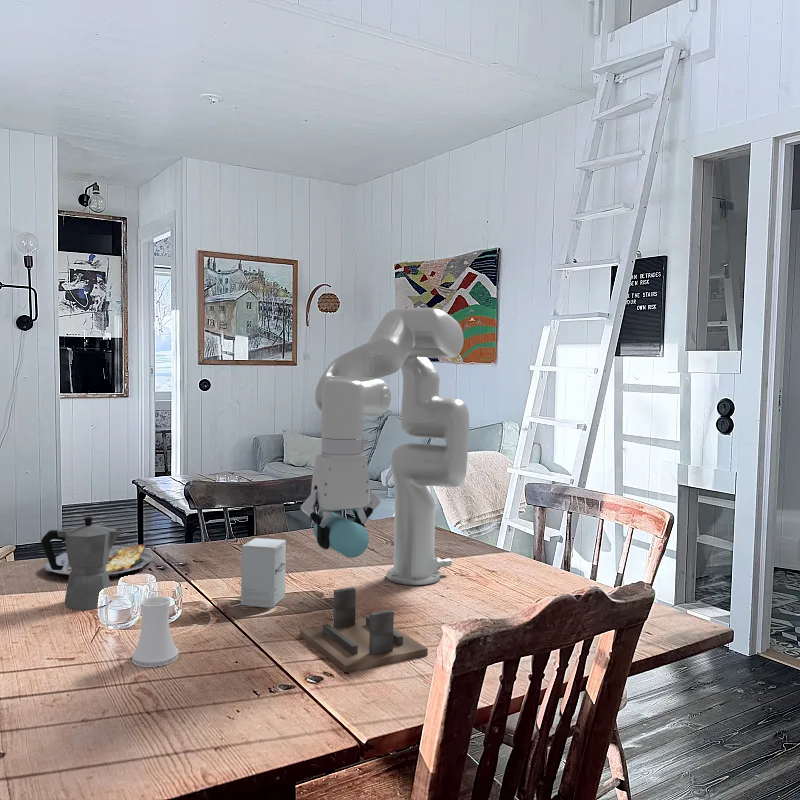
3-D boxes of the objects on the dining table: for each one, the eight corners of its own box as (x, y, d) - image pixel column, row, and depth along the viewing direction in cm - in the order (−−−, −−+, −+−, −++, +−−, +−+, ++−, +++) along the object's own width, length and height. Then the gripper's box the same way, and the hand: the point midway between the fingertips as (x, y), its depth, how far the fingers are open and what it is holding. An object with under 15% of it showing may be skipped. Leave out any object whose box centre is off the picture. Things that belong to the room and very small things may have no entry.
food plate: (77, 551, 199) (77, 537, 199) (167, 554, 198) (167, 541, 198) (28, 583, 174) (28, 567, 174) (130, 587, 173) (130, 571, 173)
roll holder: (375, 621, 152) (376, 580, 151) (427, 655, 136) (428, 609, 135) (299, 635, 144) (300, 592, 143) (345, 673, 127) (346, 624, 127)
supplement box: (273, 608, 158) (274, 547, 158) (240, 605, 160) (240, 545, 159) (286, 597, 166) (286, 539, 165) (253, 594, 167) (254, 536, 166)
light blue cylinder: (313, 544, 144) (314, 512, 144) (342, 542, 147) (343, 511, 147) (337, 559, 135) (338, 525, 135) (368, 556, 138) (369, 522, 137)
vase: (152, 671, 127) (152, 611, 126) (122, 660, 131) (122, 602, 130) (187, 656, 133) (187, 599, 132) (157, 646, 137) (157, 591, 136)
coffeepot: (122, 593, 166) (122, 510, 165) (123, 607, 157) (122, 520, 156) (43, 600, 161) (43, 514, 160) (39, 614, 152) (38, 524, 151)
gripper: (374, 443, 147) (373, 536, 149) (289, 447, 139) (288, 546, 140) (393, 447, 141) (391, 545, 142) (305, 452, 132) (304, 555, 134)
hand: (340, 544), depth 141 cm, fingers closed on light blue cylinder, 5 cm apart
